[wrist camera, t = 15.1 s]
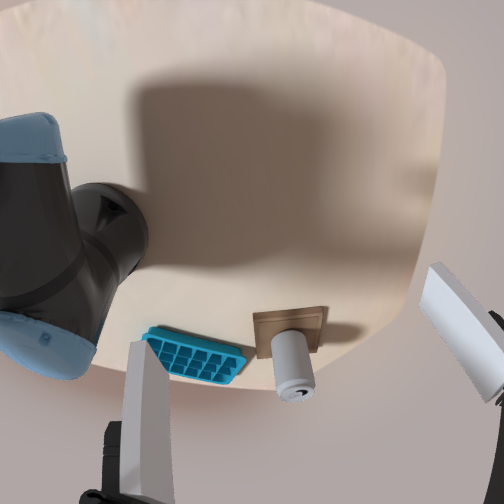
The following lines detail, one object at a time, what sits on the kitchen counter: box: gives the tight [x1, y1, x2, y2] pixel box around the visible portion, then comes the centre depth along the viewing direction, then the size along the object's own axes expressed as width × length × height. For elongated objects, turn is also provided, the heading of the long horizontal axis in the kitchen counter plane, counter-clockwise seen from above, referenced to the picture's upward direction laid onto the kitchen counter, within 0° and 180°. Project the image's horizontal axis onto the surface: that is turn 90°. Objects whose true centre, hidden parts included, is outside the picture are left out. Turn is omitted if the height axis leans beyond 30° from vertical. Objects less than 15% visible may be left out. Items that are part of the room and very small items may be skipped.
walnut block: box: [253, 306, 323, 359], centre depth 54 cm, size 12×12×2 cm
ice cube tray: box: [141, 327, 247, 385], centre depth 56 cm, size 12×20×3 cm, turn 66°
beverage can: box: [271, 330, 315, 402], centre depth 48 cm, size 6×6×12 cm
